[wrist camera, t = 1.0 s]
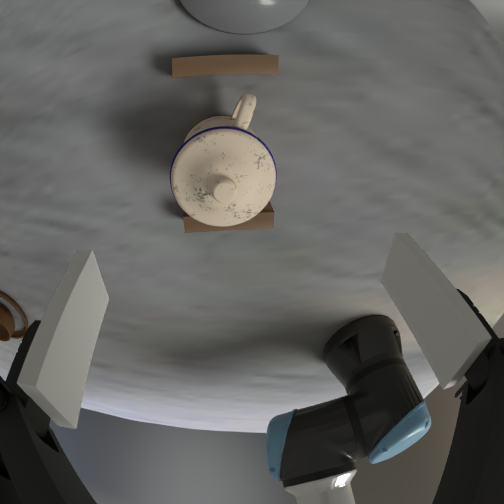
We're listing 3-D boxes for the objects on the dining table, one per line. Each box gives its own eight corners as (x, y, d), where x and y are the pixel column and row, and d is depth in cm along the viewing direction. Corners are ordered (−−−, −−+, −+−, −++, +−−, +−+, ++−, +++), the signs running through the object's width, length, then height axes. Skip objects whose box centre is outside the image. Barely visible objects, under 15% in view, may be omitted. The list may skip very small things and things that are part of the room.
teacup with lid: (245, 199, 36) (258, 255, 26) (170, 178, 33) (153, 228, 24) (284, 105, 30) (318, 123, 20) (204, 77, 27) (197, 79, 18)
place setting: (-30, 302, 40) (-42, 322, 35) (-22, 233, 33) (-41, 253, 28) (35, 346, 48) (26, 369, 43) (58, 290, 41) (46, 316, 36)
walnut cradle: (269, 216, 37) (273, 227, 35) (186, 220, 36) (185, 232, 34) (272, 56, 27) (278, 55, 24) (175, 59, 26) (171, 58, 23)
